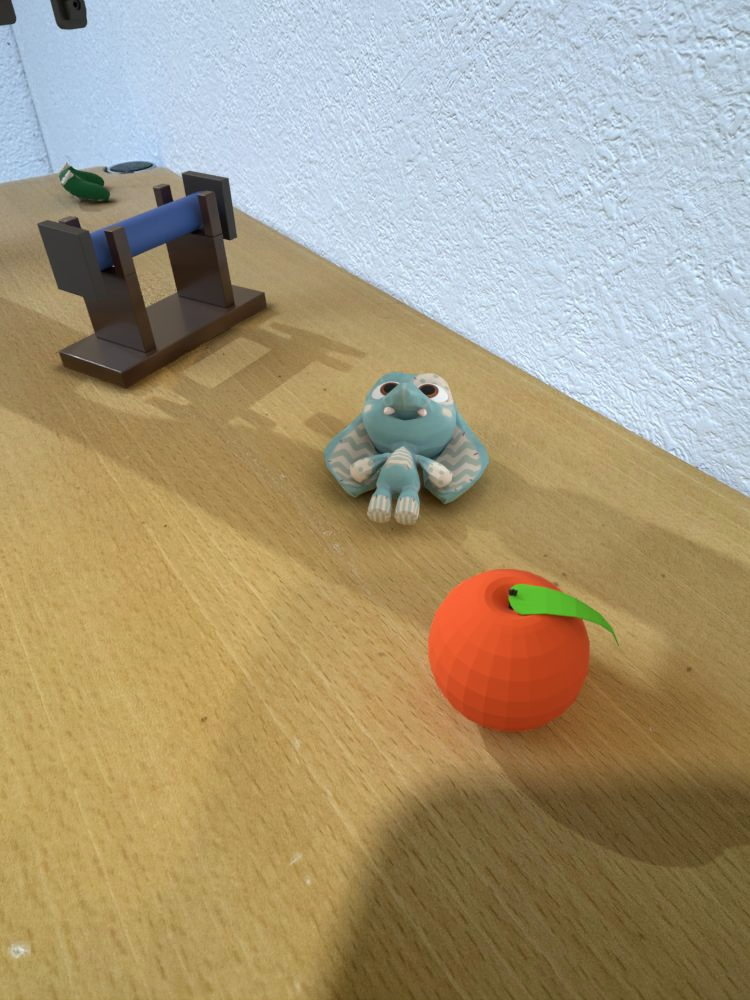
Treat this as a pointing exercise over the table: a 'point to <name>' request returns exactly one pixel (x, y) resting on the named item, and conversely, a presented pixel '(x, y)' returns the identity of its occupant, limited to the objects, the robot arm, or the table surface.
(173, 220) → the handle
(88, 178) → the green banana bunch
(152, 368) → the holder
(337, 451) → the stuffed animal
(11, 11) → the robot arm
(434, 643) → the clementine
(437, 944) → the table surface
